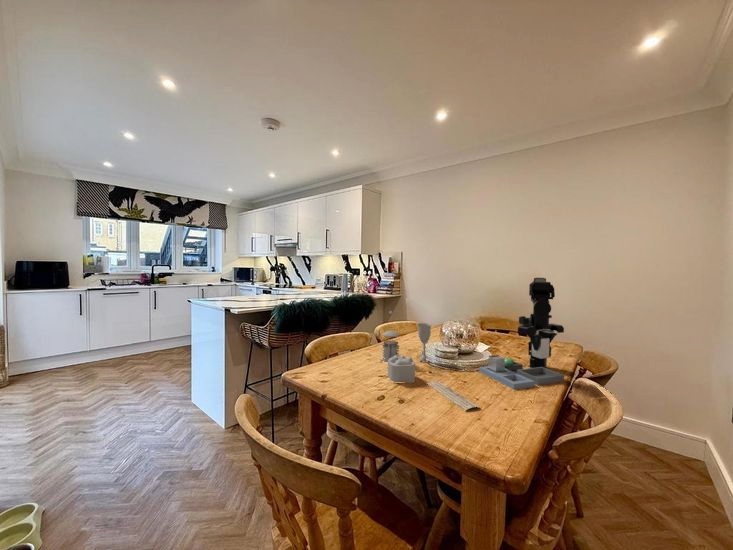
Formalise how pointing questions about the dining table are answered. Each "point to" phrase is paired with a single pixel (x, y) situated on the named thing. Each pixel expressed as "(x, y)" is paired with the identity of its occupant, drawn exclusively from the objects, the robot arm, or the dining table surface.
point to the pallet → (508, 378)
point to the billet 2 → (542, 349)
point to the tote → (541, 375)
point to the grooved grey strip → (452, 395)
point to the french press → (390, 345)
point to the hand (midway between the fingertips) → (540, 349)
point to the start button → (509, 361)
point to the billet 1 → (496, 363)
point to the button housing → (514, 366)
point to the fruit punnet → (401, 369)
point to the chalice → (424, 336)
